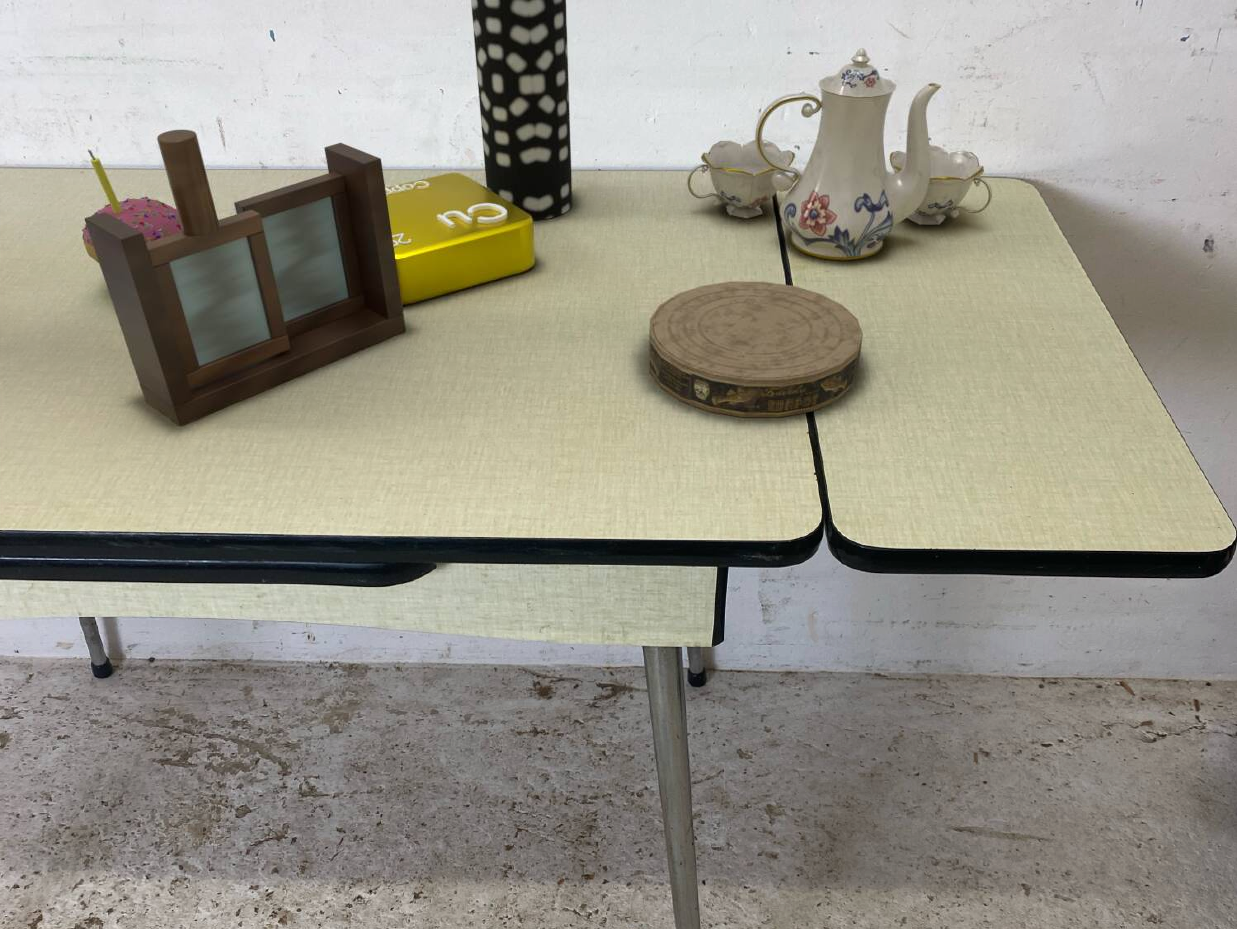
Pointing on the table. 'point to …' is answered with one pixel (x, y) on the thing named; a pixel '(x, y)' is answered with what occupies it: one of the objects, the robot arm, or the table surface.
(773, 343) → the brown flat banded disc
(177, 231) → the cupcake
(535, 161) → the spotted tube
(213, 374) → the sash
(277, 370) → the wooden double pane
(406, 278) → the element tile
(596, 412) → the table surface
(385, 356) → the table surface
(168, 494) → the table surface
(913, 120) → the chinaware
